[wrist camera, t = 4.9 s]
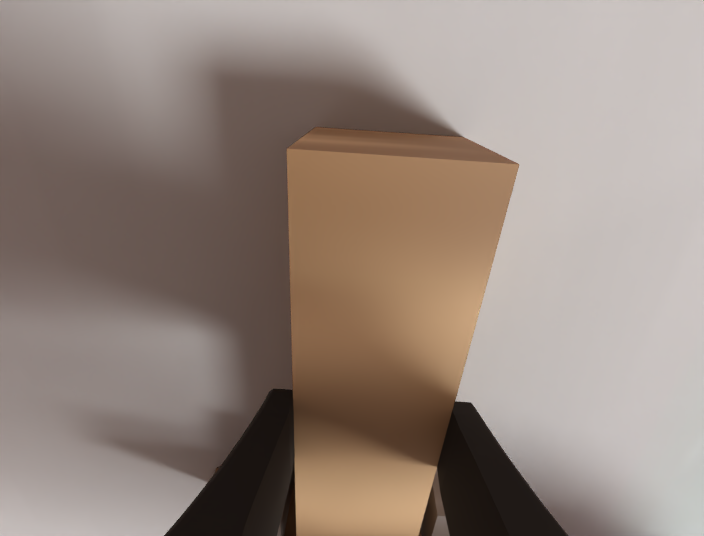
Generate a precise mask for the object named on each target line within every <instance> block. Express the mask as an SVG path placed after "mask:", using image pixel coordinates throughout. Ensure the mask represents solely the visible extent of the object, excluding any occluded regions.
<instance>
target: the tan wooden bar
mask: <svg viewBox="0 0 704 536" xmlns="http://www.w3.org/2000/svg"><path fill="white" fill-rule="evenodd" d="M518 168H519V164H518V163H516V162H513V161H511V160H509V159H507V158H505V157H503V156H501V155H499V154H497V153H495V152H493V151H491V150H489V149H487V148H485V147H483V146H481V145H479V144H477V143H475V142H473V141H471V140H468V139H466V138H464V137H456V136H441V135H426V134H411V133H396V132H381V131H367V130H352V129H337V128H322V127H315V128H314V129H312V130H311V131H310V132H308V133H307V134H306V135H304V136H303V137H302V138H300V139H299V140H298V141H296V142H295V143H294V144H292V145H291V146H290V147H288V148H287V183H288V222H289V262H290V302H291V341H292V381H293V406H294V448H295V458H294V460H295V500H296V536H418V535H419V532H420V528H421V524H422V521H423V517H424V513H425V510H426V506H427V502H428V499H429V495H430V491H431V487H432V484H433V480H434V476H435V473H436V469H437V465H438V461H439V457H440V454H441V450H442V446H443V443H444V439H445V435H446V432H447V428H448V424H449V421H450V417H451V413H452V410H453V407H454V403H455V399H456V396H457V392H458V388H459V385H460V381H461V377H462V374H463V370H464V366H465V362H466V359H467V355H468V351H469V348H470V344H471V340H472V337H473V333H474V329H475V326H476V322H477V318H478V315H479V311H480V307H481V304H482V300H483V296H484V293H485V289H486V285H487V282H488V278H489V274H490V271H491V267H492V263H493V260H494V256H495V252H496V249H497V245H498V241H499V237H500V234H501V230H502V226H503V223H504V219H505V215H506V212H507V208H508V204H509V201H510V197H511V193H512V190H513V186H514V182H515V179H516V175H517V171H518Z"/></svg>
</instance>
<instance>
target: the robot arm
mask: <svg viewBox="0 0 704 536" xmlns="http://www.w3.org/2000/svg"><path fill="white" fill-rule="evenodd" d="M294 458H295V448H294V406H293V390H285V389H273V390H271V391H270V392H269V394H268V396H267V397H266V399H265V401H264V403H263V404H262V406H261V408H260V409H259V411H258V413H257V414H256V416H255V417H254V419H253V421H252V422H251V424H250V425H249V427H248V428H247V430H246V431H245V433H244V434H243V436H242V437H241V438H240V440H239V441H238V443H237V444H236V445H235V447H234V448H233V450H232V451H231V453H230V454H229V455H228V457H227V458H226V460H225V461H224V462H223V464H222V465H221V466H220V468H219V469H218V470H217V472H216V473H215V474H214V475H213V477H212V478H211V479H210V481H209V482H208V483H207V484H206V486H205V487H204V488H203V490H202V491H201V492H200V493H199V495H198V496H197V497H196V498H195V500H194V501H193V502H192V503H191V505H190V506H189V507H188V508H187V510H186V511H185V512H184V513H183V514H182V516H181V517H180V518H179V519H178V520H177V521H176V523H175V524H174V525H173V526H172V527H171V528H170V530H169V531H168V532H167V533H166V534H165V535H164V536H277V533H278V529H279V525H280V521H281V517H282V514H283V510H284V506H285V502H286V498H287V494H288V490H289V486H290V482H291V476H292V470H293V464H294ZM437 471H438V479H439V487H440V494H441V498H442V503H443V508H444V512H445V517H446V521H447V526H448V530H449V535H450V536H568V535H567V534H566V533H565V531H564V530H563V529H562V528H561V526H560V525H559V524H558V523H557V521H556V520H555V519H554V518H553V516H552V515H551V514H550V513H549V511H548V510H547V509H546V507H545V506H544V505H543V504H542V502H541V501H540V500H539V498H538V497H537V496H536V494H535V493H534V492H533V490H532V489H531V488H530V486H529V485H528V484H527V482H526V481H525V480H524V478H523V477H522V475H521V474H520V473H519V471H518V470H517V469H516V467H515V466H514V465H513V463H512V462H511V460H510V459H509V458H508V456H507V455H506V453H505V452H504V450H503V449H502V447H501V446H500V445H499V443H498V442H497V440H496V439H495V437H494V436H493V434H492V433H491V431H490V430H489V428H488V427H487V425H486V424H485V422H484V421H483V419H482V418H481V416H480V415H479V413H478V412H477V410H476V409H475V407H474V406H473V405H472V404H471V403H468V402H455V403H454V407H453V410H452V413H451V417H450V421H449V424H448V428H447V432H446V435H445V439H444V443H443V446H442V450H441V454H440V457H439V461H438V465H437Z"/></svg>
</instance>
